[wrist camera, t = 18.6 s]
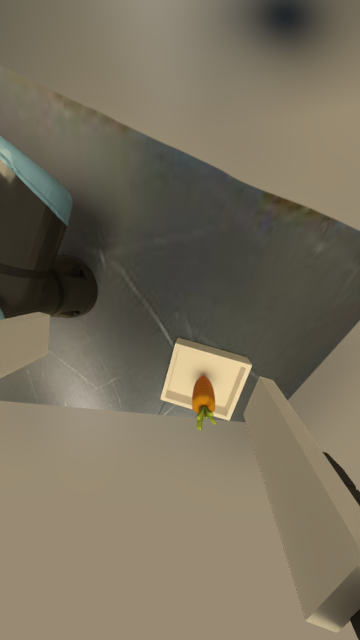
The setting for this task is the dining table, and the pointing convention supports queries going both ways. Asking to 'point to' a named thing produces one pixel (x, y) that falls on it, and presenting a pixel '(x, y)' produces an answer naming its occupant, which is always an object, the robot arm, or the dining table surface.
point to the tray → (215, 365)
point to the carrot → (203, 400)
